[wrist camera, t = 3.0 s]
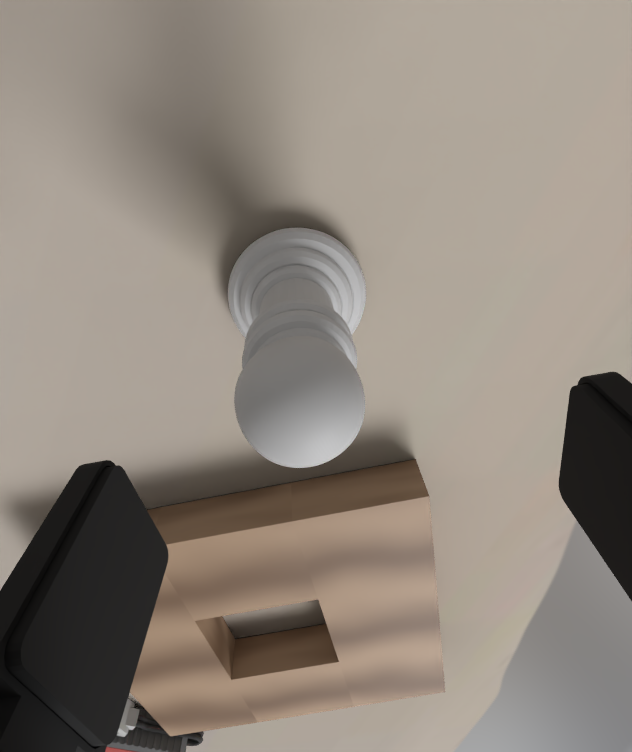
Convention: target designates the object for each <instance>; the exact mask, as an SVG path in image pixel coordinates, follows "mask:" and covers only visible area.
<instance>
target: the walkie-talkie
mask: <svg viewBox="0 0 632 752" xmlns="http://www.w3.org/2000/svg"><path fill="white" fill-rule="evenodd" d="M134 706H135V703H134V702H132V701H131V700H130V699H127V703H126V706H125V709H124V713H123V716H122V720H121V723H120V726H119V730H118V732H117V735H116V737H115V739H114V740H113V742H112V743H111V744H108V745H107V747H106V750H105V752H186V746H196V745H198V744H200V743H202V741H203V738H202V736H203V734H204V733H203V731H201V732H195V733H189V734H183V735H177V736H169V734H168V733H167V732H166V731H165V730H164V729H163V728H162V727H161V726H160V725H159V723H158V722H157V721H156V720H155V719H154V718H153V717H152V716H151V715H150V714H149V712H148V711H147V710H144V709H142V708H140V709H139V708H136V707H134Z"/></svg>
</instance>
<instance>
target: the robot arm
mask: <svg viewBox="0 0 632 752" xmlns="http://www.w3.org/2000/svg"><path fill="white" fill-rule="evenodd" d="M559 490H560V493H561V496H562V498H563V500H564V502H565V503H566V505H567V506H568V508H569V509H570V511H571V512H572V514H573V515H574V517H575V518H576V520H577V521H578V523H579V524H580V525H581V527H582V528H583V530H584V531H585V533H586V534H587V536H588V537H589V539H590V540H591V542H592V543H593V545H594V546H595V548H596V549H597V551H598V552H599V554H600V555H601V556H602V558H603V559H604V561H605V562H606V564H607V565H608V567H609V568H610V570H611V571H612V573H613V574H614V576H615V577H616V579H617V580H618V582H619V583H620V585H621V586H622V587H623V589H624V590H625V592H626V593H627V595H628V596H629V598H630V599H631V601H632V384H631V383H630V382H629V381H628V380H626V379H625V378H624V377H623V376H621V375H620V374H618V373H617V372H608V373H603V374H597V375H591V376H585V377H582V378H581V379H580V380H579V382H578V385H577V386H573V387H572V388H571V391H570V396H569V404H568V412H567V420H566V428H565V436H564V444H563V452H562V460H561V468H560V476H559ZM168 556H169V555H168V548H167V545H166V543H165V541H164V540H163V538H162V536H161V534H160V533H159V531H158V529H157V527H156V526H155V524H154V522H153V520H152V519H151V517H150V515H149V513H148V511H147V510H146V508H145V506H144V504H143V503H142V501H141V499H140V497H139V496H138V494H137V492H136V490H135V489H134V487H133V485H132V483H131V482H130V480H129V478H128V476H127V474H126V473H125V471H124V469H123V468H122V467H121V466H116V465H115V464H114V463H113V462H111V461H108V460H106V461H100V462H95V463H89V464H83V465H81V466H79V467H78V468H77V469H76V471H75V472H74V474H73V476H72V477H71V479H70V480H69V482H68V484H67V485H66V487H65V488H64V490H63V492H62V493H61V495H60V496H59V498H58V500H57V501H56V503H55V504H54V506H53V507H52V509H51V511H50V512H49V514H48V515H47V517H46V519H45V520H44V522H43V523H42V525H41V527H40V528H39V530H38V531H37V533H36V535H35V536H34V538H33V539H32V541H31V543H30V544H29V546H28V547H27V549H26V551H25V552H24V554H23V555H22V557H21V558H20V560H19V562H18V563H17V565H16V566H15V568H14V570H13V571H12V573H11V574H10V576H9V578H8V579H7V581H6V582H5V584H4V586H3V587H2V589H1V590H0V752H105V750H106V747H107V745H108V744H111V743H112V742H113V740H114V739H115V737H116V735H117V732H118V730H119V726H120V723H121V720H122V716H123V713H124V709H125V706H126V703H127V699H128V696H129V693H130V689H131V686H132V682H133V679H134V676H135V672H136V669H137V665H138V662H139V659H140V655H141V652H142V648H143V645H144V642H145V638H146V635H147V631H148V628H149V625H150V621H151V618H152V614H153V611H154V608H155V604H156V601H157V597H158V594H159V591H160V587H161V584H162V581H163V577H164V574H165V570H166V567H167V563H168Z"/></svg>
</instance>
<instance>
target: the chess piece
mask: <svg viewBox="0 0 632 752" xmlns="http://www.w3.org/2000/svg"><path fill="white" fill-rule="evenodd" d="M365 302H366V284H365V278H364V275H363V272H362V269H361V267H360V265H359V263H358V261H357V260H356V258H355V257H354V255H353V254H352V253H351V252H350V251H349V249H348V248H347V247H346V246H344V245H343V244H342V243H341V242H340V241H338V240H337V239H335V238H334V237H332V236H330V235H328V234H326V233H323V232H320V231H317V230H314V229H308V228H286V229H281V230H277V231H274V232H271V233H269V234H266V235H264V236H262V237H261V238H259V239H257V240H256V241H255V242H253V243H252V244H251V245H249V246H248V247H247V248H246V249H245V250H244V252H243V253H242V254H241V255H240V257H239V258H238V260H237V261H236V263H235V265H234V267H233V269H232V272H231V275H230V279H229V283H228V303H229V308H230V312H231V315H232V317H233V320H234V322H235V324H236V326H237V328H238V329H239V331H240V332H241V333H242V335H243V336H244V337H245V338H246V339H245V346H244V351H243V357H242V367H243V370H242V372H241V373H240V376H239V378H238V381H237V384H236V388H235V397H234V401H235V411H236V416H237V420H238V423H239V426H240V428H241V430H242V432H243V434H244V436H245V438H246V439H247V441H248V442H249V443H250V445H251V446H252V447H253V448H254V449H255V450H256V451H257V452H258V453H259V454H261V455H262V456H263V457H265V458H266V459H268V460H270V461H272V462H274V463H276V464H279V465H282V466H286V467H292V468H306V467H313V466H317V465H320V464H323V463H326V462H328V461H330V460H332V459H333V458H335V457H337V456H338V455H339V454H341V453H342V452H343V451H344V450H345V449H347V448H348V447H349V445H350V444H351V443H352V442H353V441H354V439H355V438H356V436H357V434H358V432H359V430H360V428H361V426H362V422H363V419H364V413H365V396H364V390H363V386H362V383H361V380H360V377H359V375H358V373H357V371H356V368H357V353H356V348H355V345H354V343H353V339H352V333H353V332H354V331H355V329H356V328H357V326H358V324H359V322H360V320H361V317H362V315H363V311H364V307H365Z"/></svg>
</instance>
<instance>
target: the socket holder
mask: <svg viewBox="0 0 632 752" xmlns="http://www.w3.org/2000/svg"><path fill="white" fill-rule="evenodd" d="M147 511H148V513H149V515H150V517H151V519H152V520H153V522H154V524H155V526H156V527H157V529H158V531H159V533H160V534H161V536H162V538H163V540H164V541H165V543H166V545H167V548H168V555H169V556H168V563H167V567H166V570H165V574H164V577H163V581H162V584H161V587H160V591H159V594H158V597H157V601H156V604H155V608H154V611H153V614H152V618H151V621H150V625H149V628H148V631H147V635H146V638H145V642H144V645H143V648H142V652H141V655H140V659H139V662H138V665H137V669H136V672H135V676H134V679H133V682H132V686H131V689H130V693H131V694H132V695H133V696H134V697H135V698H136V699H137V700H138V702H139V703H140V704H141V705H142V706H143V707H144V708H145V709H146V710H147V711H148V712H149V714H150V715H151V716H152V717H153V718H154V719H155V720H156V721H157V722H158V723H159V725H160V726H161V727H162V728H163V729H164V730H165V731H166V732H167V733H168V734H169V736H177V735H183V734H189V733H195V732H201V731H207V730H214V729H220V728H226V727H232V726H238V725H244V724H251V723H257V722H263V721H269V720H275V719H281V718H288V717H294V716H300V715H306V714H312V713H318V712H325V711H331V710H337V709H343V708H349V707H355V706H362V705H368V704H374V703H380V702H386V701H392V700H398V699H405V698H411V697H417V696H423V695H429V694H435V693H442V692H445V683H444V671H443V659H442V646H441V634H440V622H439V610H438V597H437V585H436V573H435V561H434V548H433V536H432V524H431V512H430V499H429V494H428V492H427V489H426V486H425V483H424V481H423V478H422V475H421V473H420V470H419V467H418V465H417V462H416V459H414V460H409V461H404V462H398V463H393V464H388V465H383V466H377V467H372V468H367V469H361V470H356V471H351V472H345V473H340V474H335V475H329V476H324V477H319V478H313V479H308V480H303V481H297V482H292V483H287V484H282V485H276V486H271V487H266V488H260V489H255V490H250V491H244V492H239V493H234V494H228V495H223V496H218V497H212V498H207V499H202V500H197V501H191V502H186V503H181V504H175V505H170V506H165V507H159V508H154V509H149V510H147ZM317 599H318V600H319V603H320V606H321V609H322V612H323V615H324V618H325V621H326V624H322V625H316V626H311V627H305V628H299V629H293V630H287V631H281V632H276V633H270V634H264V635H258V636H252V637H247V638H241V639H235V638H234V637H233V635H232V633H231V631H230V630H229V628H228V626H227V624H226V622H225V621H224V619H223V617H222V616H226V615H231V614H237V613H243V612H249V611H254V610H260V609H266V608H271V607H277V606H283V605H289V604H294V603H300V602H306V601H312V600H317Z"/></svg>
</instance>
